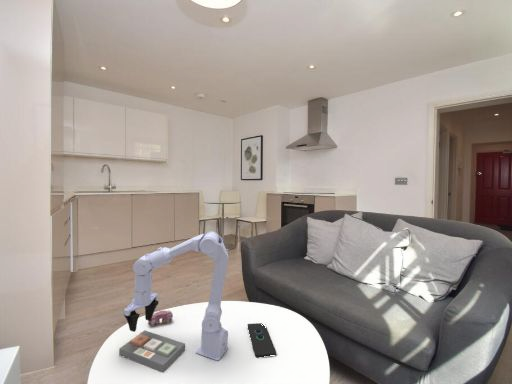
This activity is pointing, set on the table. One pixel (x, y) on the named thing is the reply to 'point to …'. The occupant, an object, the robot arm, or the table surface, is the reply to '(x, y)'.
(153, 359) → the keypad
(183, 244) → the robot arm
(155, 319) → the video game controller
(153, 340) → the white key
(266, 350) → the smart home device
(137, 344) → the terracotta key
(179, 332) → the table surface
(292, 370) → the table surface
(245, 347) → the table surface
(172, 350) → the sage key
